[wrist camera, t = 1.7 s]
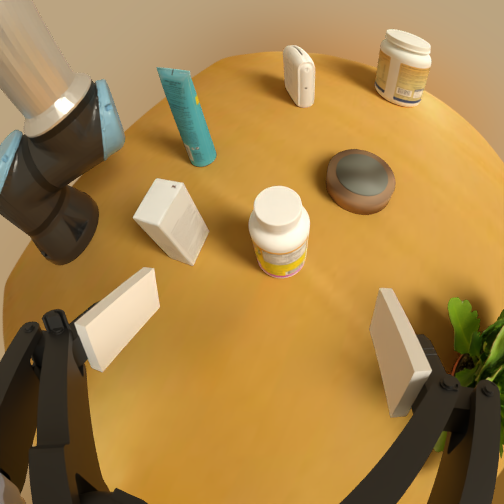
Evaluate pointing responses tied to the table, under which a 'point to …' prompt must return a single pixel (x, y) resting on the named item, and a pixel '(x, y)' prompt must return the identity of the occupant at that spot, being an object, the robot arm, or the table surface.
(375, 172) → the walnut plinth
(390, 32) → the supplement tub
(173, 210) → the skincare box
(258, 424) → the table surface
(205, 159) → the tube
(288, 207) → the supplement bottle
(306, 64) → the photo printer
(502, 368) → the potted flower
